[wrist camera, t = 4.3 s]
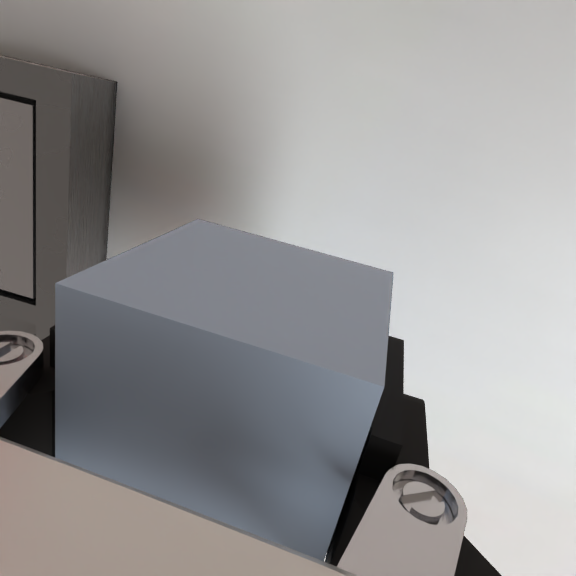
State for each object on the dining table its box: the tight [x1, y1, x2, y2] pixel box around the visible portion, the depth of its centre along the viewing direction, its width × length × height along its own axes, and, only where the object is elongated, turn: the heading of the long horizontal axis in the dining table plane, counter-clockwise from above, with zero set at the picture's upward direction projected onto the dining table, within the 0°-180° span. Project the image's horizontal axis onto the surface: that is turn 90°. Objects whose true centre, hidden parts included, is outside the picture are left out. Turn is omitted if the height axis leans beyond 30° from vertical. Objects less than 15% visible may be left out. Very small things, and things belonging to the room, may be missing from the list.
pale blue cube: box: [55, 219, 393, 561], centre depth 10 cm, size 5×6×5 cm
